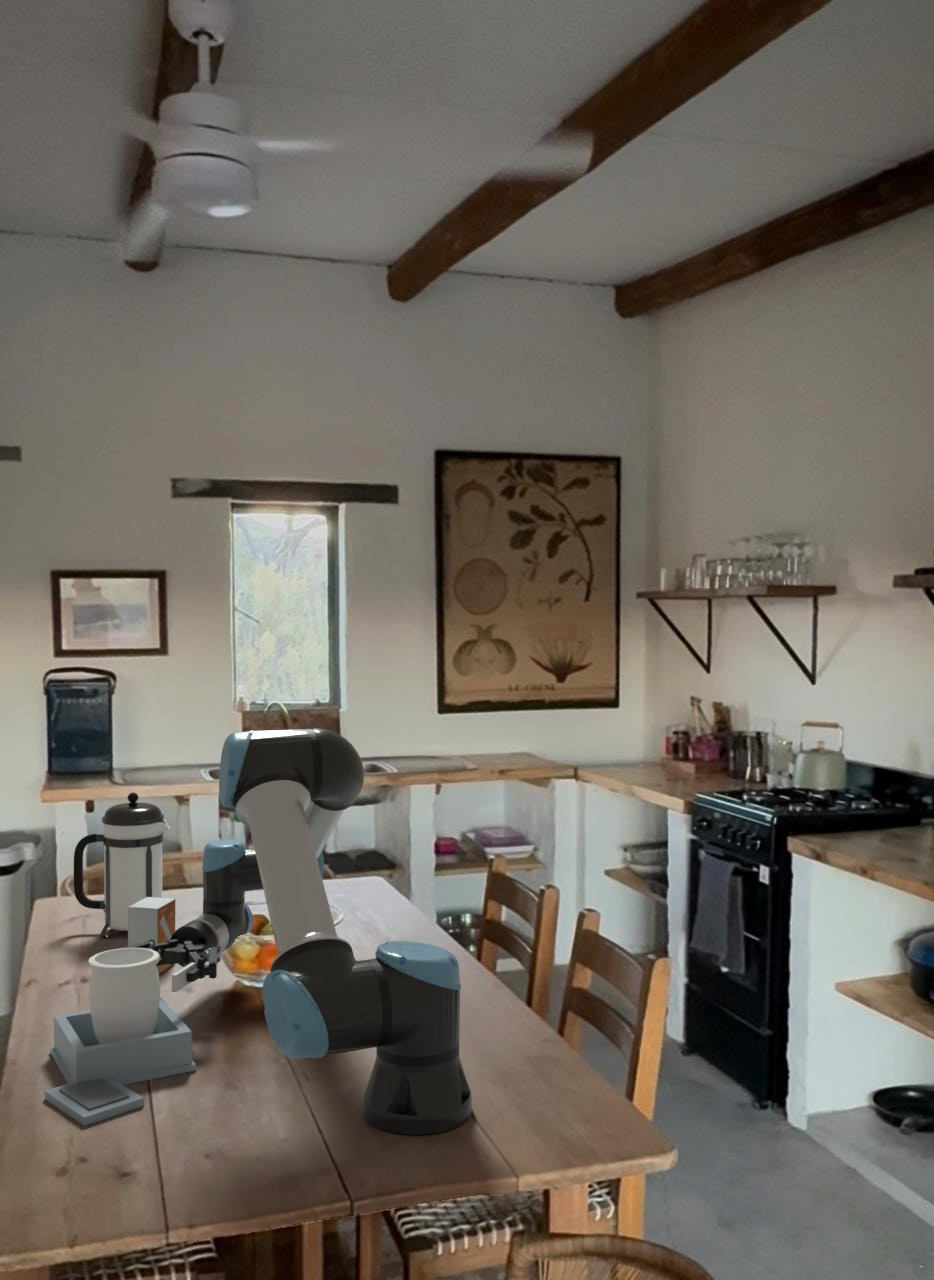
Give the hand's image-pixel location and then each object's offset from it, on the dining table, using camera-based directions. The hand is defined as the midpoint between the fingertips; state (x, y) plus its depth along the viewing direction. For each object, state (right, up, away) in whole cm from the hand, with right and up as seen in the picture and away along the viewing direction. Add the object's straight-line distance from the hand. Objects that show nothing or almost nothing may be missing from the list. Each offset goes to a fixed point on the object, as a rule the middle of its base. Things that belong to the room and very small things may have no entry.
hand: (135, 979), depth 186 cm
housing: (-1, -11, -4) cm, 12 cm away
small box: (-8, -10, +41) cm, 43 cm away
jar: (-1, -10, -3) cm, 11 cm away
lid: (-1, -12, -19) cm, 22 cm away
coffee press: (-20, -9, +66) cm, 70 cm away
